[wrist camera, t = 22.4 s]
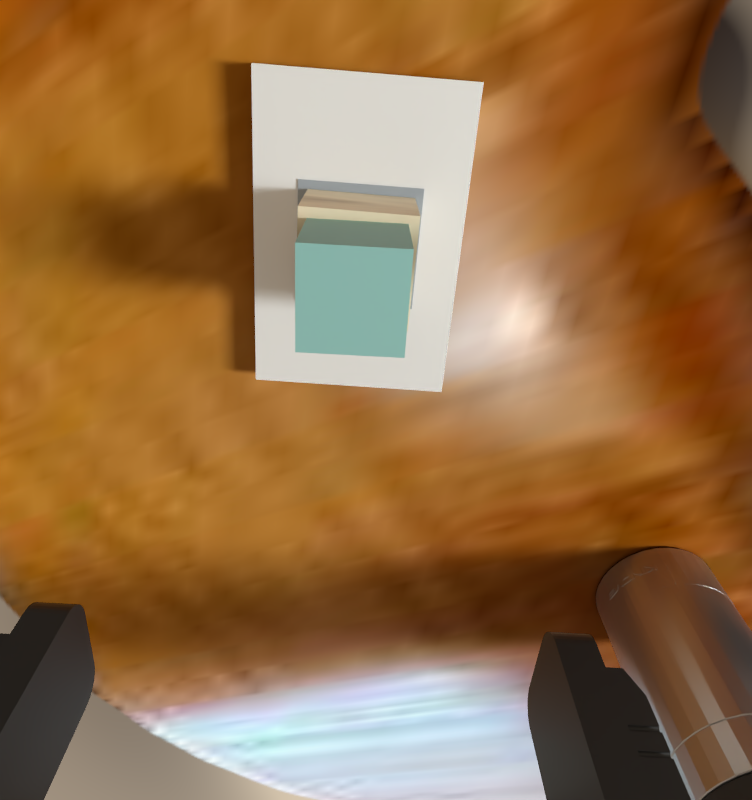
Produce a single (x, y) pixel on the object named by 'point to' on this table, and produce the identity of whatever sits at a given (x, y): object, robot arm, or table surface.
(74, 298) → the table surface
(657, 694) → the robot arm
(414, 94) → the board
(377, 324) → the teal cube
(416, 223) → the birch block
